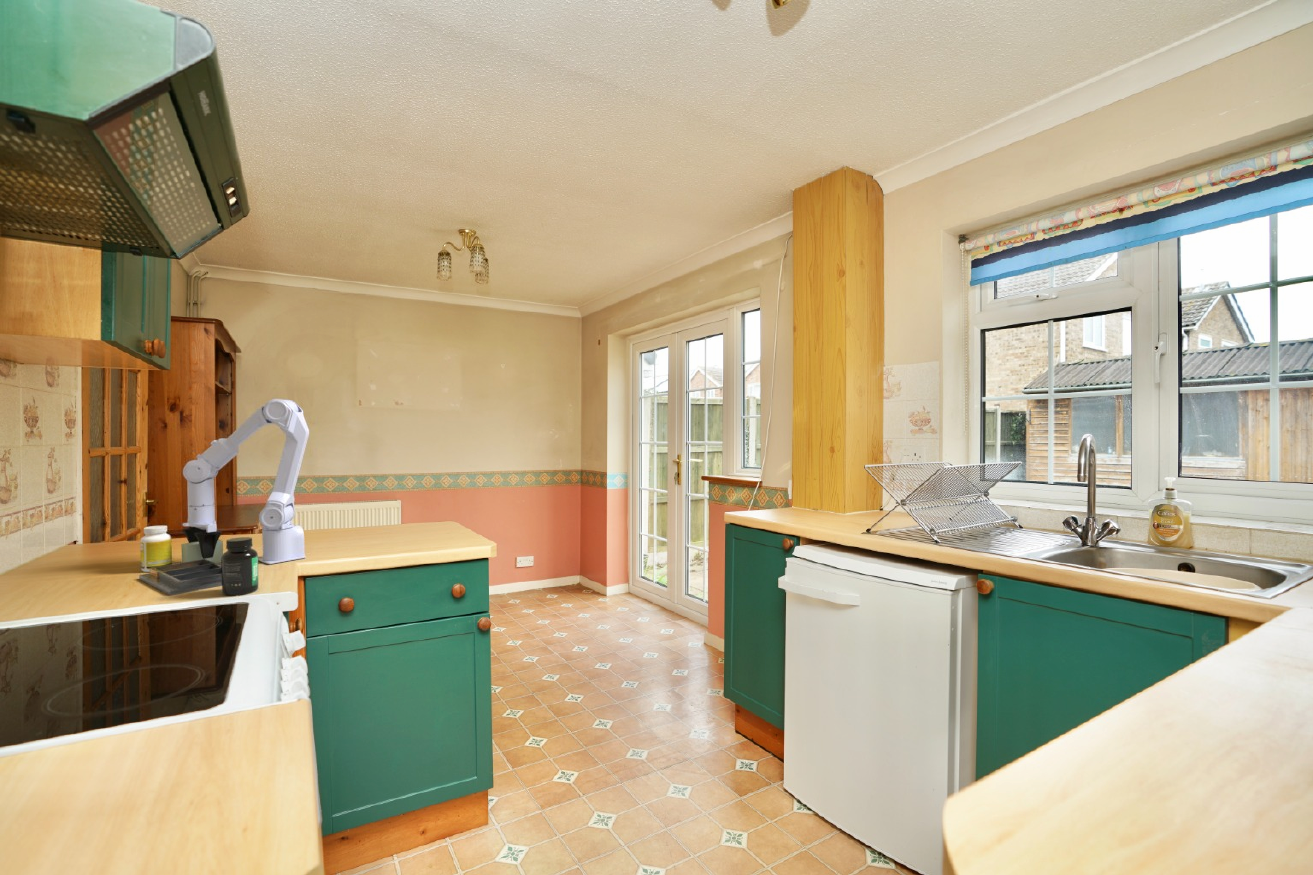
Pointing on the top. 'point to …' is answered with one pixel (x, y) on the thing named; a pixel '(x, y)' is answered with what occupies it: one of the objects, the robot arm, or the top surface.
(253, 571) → the supplement bottle
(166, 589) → the rack
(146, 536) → the pill bottle
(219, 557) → the panel block
